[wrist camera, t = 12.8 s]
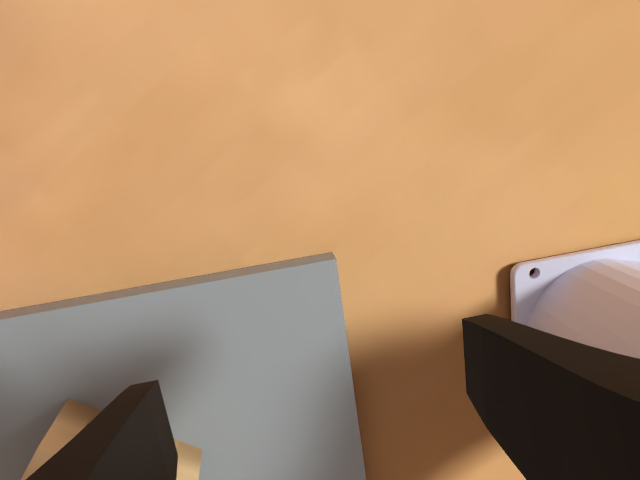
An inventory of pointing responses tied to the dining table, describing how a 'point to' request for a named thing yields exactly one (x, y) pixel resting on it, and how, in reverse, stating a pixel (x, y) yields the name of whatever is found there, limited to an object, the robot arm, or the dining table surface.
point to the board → (198, 369)
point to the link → (80, 415)
